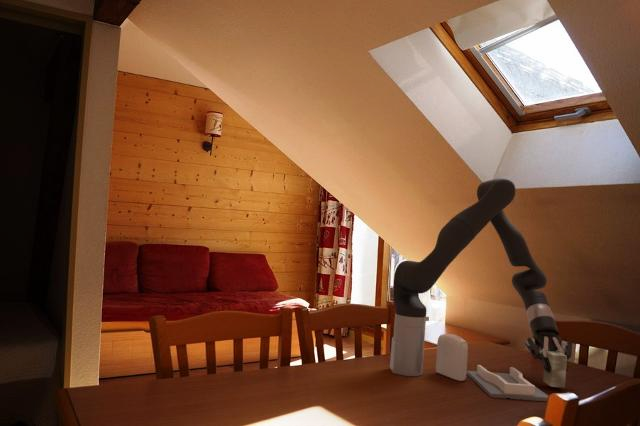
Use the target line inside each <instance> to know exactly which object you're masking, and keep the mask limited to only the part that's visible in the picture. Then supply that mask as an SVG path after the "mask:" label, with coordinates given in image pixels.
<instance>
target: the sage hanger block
mask: <svg viewBox="0 0 640 426" xmlns="http://www.w3.org/2000/svg"><path fill="white" fill-rule="evenodd" d="M547 355H548V356H547V358H549V362H550V365H551V368H552V370H551V371H550V373H547V372H546V371H545V370H544V369H543V378H542V379H543V380H542V382H544V383H545V384H546V385H548V386H550V387H551V388H552V387H553V388H566V380H567V379H566V377H567V373H566V365H568V363H567V356H566V355H564V354H562V353H560V352H554V351H548V352H547Z"/></svg>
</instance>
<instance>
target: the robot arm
mask: <svg viewBox="0 0 640 426" xmlns="http://www.w3.org/2000/svg"><path fill="white" fill-rule="evenodd" d="M515 196H516V186H515V184H514V182H513V181H512V180H510V179H509V178H506V177H499V178H494V179H493V178H492V179H489V180H486V181H482V182H481V183H480V184H479V185H478V187H477V190H476V197H477V199H478V201H476V202H475V203H474V204H472V205H470V206H468V207H467V208H465V209H463V210H461V211H460V212H458V213H457V214H455V215H454V216H453V217H451V219H450V220H449V221H448V222H447V223H446V224H445V225H444V226H443V227H442V228H441V229H440V231H439V233H438V235H437V240H436V242H435V243H436V244H435V247H434V248H433V250H432V251H431V252H430V253H429V254H428V255H427V256H425V258H423V259H422V260H421V261H413V260H404V261H401V262H400V263H399V264H397V266H396V268H395V270H394V276H393V293H392V294H393V299H392V300H393V305H394V310H395V311H394V313H395V314H394V325H393V336H392V337H391V344H390V345H391V347H390V348H391V349H390V362H389V369H390V371H391V373H392V374H395V375H401V376H405V377H407V376H408V377H419V376H422V374H423V368H424V367H423V365H424V352H425V337H426V323H427V307H426V305H425V304H424V303H423V302H422V301H421V299H420V297H419V294H425V293H426V292H428V291H430V290H431V288H433V286H434V285H435V284H436V283H437V281H438V280H439V278H440V277H441V276H442V275H443V273H444V272H445V271H446V269H447V268H448V267H449V266H450V264H451V263H452V262H454V260H455V259H456V258H457V257H458V256H459V255H460V254H461V252H462V251H463V250H464V249H465V248H466V247H468V246H469V245H470V243H471V242H472V241H473V240H474V239H475V238H476V237H477V236H478V235H479V233H480V232H482V230H483V229H484V228H485V227H486V226H487V225H488V224H489V223H491V224H492V226H493V228H494V230H495V232H496V233H497V235H498V237H499V239H500V241H501V243H502V246H503V248H504V251H505V254H506V256H507V259H508V261H509V263H510V265H511V266H512V267H526V268H528V269H526V270H523V271H520V272H516V273H514V274H513V276H512V277H511V283H512V286H513V287H514V289H515V291H516V292H517V293H518V294H519V296H520V298H521V299H522V300H521V301H522V302H523V304H524V308H525V311H526V317H527V320H528V321H527V323H528V325H529V328H530V331H531V334H532V337H533V338H531V337H527V339H526V341H525V342H524V345H526V347H527V349H528V350H529V352H530V354H531V355H532V357H533V358H534V359H535V360H540V361H541V363H542V366H543V371H544V370H545V371H546V372H547V373H550V371H551V370H552V368H551V365H550V362H549V358H547V356H548V355H547V352H548V351H554V352H560V353H562V354H564V355H566V356H567V362H568V363H569V361H570V359H571V358H572V352H573V351H572V349H573V342H572V341H571V340H568V341H565V340H563V339H562V337H561V336H560V333H559V328H558V326H557V322H556V320H555V316H554V313H553V311H552V309H551V308H550V305H549V302H548V301H549V300H548V299H547V296H546V294H545V293H544V292H543V291H540V290H541V289H543V288H545V287H546V285H547V282H548V281H547V277H546V274H545V273H544V272H543V270H542V269H541V268H540V267H539V265H538V264H537V263H536V261H535V260H534V258H533V256H532V254H531V252H530V250H529V247H528V244H527V241H526V239H525V238H524V236H523V234H522V233H521V232H520V231H519V229H518V228H517V227H516V226H515V225H514V224H513V223H512V222H511V221H510V220H509V218H508V217H507V215H506V213H505V212H504V209H505V208H507V206H509V205H510V204H511V203H512V201H514V199H515ZM568 371H569V366H568V364H567V365H566V374H567V373H568Z"/></svg>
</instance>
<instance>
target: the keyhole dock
mask: <svg viewBox="0 0 640 426" xmlns="http://www.w3.org/2000/svg"><path fill="white" fill-rule="evenodd" d="M466 376H468V377H469V378H470V379H471V380H472V381H473V382H474V383H475V384H477V386H479V388H481V389H482V391H484V393H486V395H488V396H489V397H490V398H492V397H493V398H495V399H506V398H510V399H509V400H521V399H522V400H521V401H523V400H524V401H538V402H548V401H547V399H548V396H549V395H548V394H547V393H545V392H544V391H542V390H541V389H540V388H539V387H537V386H535V385H534V384H533V383H531V382H530V381H528V380H527V379H525V377H523V373H522V372H521V371H519V370H518V369H516V368H515V367H514V366H512V367H511V366H510V367H509V373H506V372H505V373H503V372H492V371H489V370H487V369H486V367H483V366H482V365H481V364H477V366H476V371H475V370H467V374H466Z"/></svg>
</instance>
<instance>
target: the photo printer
mask: <svg viewBox="0 0 640 426" xmlns="http://www.w3.org/2000/svg"><path fill="white" fill-rule="evenodd" d="M436 344H437V345H436V359H435V360H436V361H435V372H436V373H437V374H440V375H442V376H444V377H447V378H450V379H451V380H455V381H458V382H463V381H464V382H465V380H466V379H467V371H468V370H467V369H468V354H469V353H468V352H469V351H468V350H469V344H468V342H467V341H466V340H465V339H463V338H462V337H460V336H458V335H456V334H454V333H446V334H440V335H439V336H438V339H437V343H436Z"/></svg>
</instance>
